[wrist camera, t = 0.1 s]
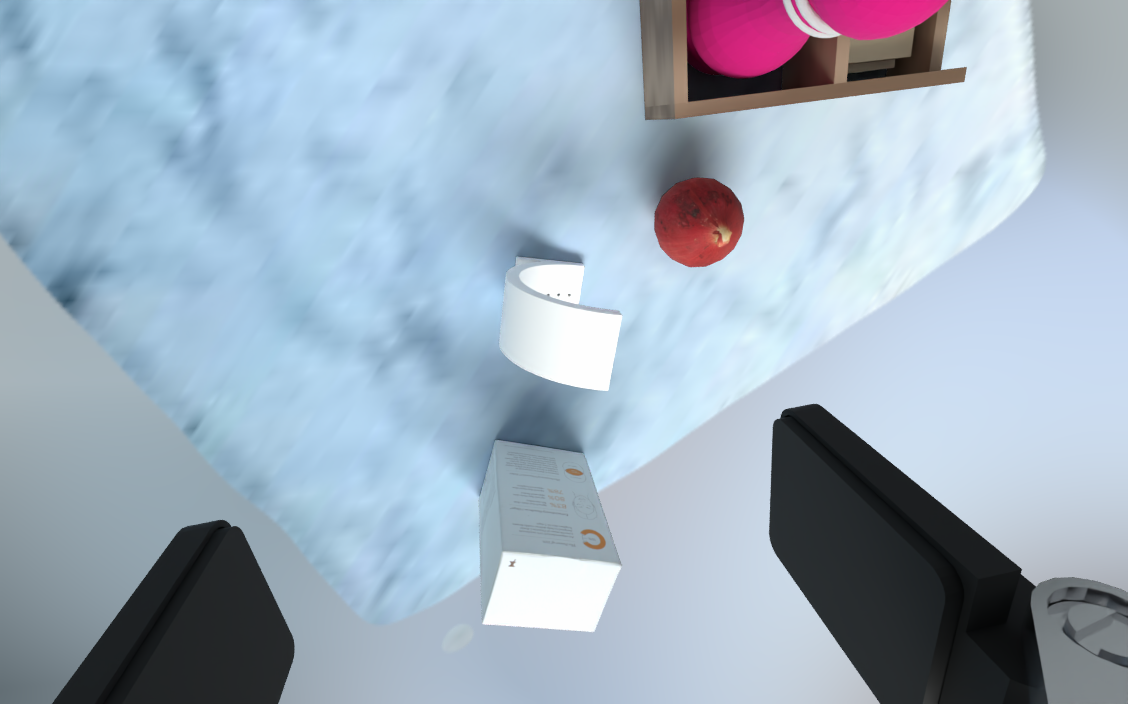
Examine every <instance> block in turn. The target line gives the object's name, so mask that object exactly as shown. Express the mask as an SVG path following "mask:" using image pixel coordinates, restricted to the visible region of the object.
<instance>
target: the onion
mask: <svg viewBox="0 0 1128 704" xmlns="http://www.w3.org/2000/svg"><path fill="white" fill-rule="evenodd" d="M743 223H744V215H743V210H742V205H741V203H740V201H739V200H738V198H737V197H736V196H735V194H734V193H733V192H732V190H731V189H730V188H728V187H727V186H725V185H723V184H722V183H720V182H718V181H717V180H715V179H710V178H699V177H697V178H691V179H688V180H685V181H682V182H679V183H676V184H675V185H674V186H673V187H672V188H670V189H669V190H668V191H667V192H666V193H665V194H664V195H663V196H662V198H661V200H660V202H659V204H658V206H657V209H656V211H655V222H654V230H655V233H656V236H657V239H658V242H659V245H660V247H661V248H662V250H663V251H664V252H665V253H666V254H667V255H668V256H669V257H670V258H671V259H672V260H675V261H677V262H679V263H681V264H683V265H685V266H688V267H706V266H708V265H711V264H713V263H715V262H717V261H720V260H722V259H723V258H724V257H725V256H727V255H728V254H729V253H730V252H731V251H732V250H733V249H734V248H735V246H736V244H737V242H738V240H739V238H740V237H741V235H742V229H743Z"/></svg>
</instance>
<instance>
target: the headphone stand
mask: <svg viewBox="0 0 1128 704" xmlns="http://www.w3.org/2000/svg"><path fill="white" fill-rule="evenodd" d="M584 268H585V266H584V265H583V263H573V262H564V261H555V260H545V259H536V258H527V257H517V256H516V263H515V266H514V267H512V268H510V269H509V270H508V271H507V272H506V278H505V288H504V297H503V307H502V317H501V327H500V337H499V346H500V349H501V351H502V352H503V354H504V355H505V356H506V357H507V358H508V359H509V360H510V361H512V362H513V363H514V364H516V365H518V366H519V367H521V368H523V369H524V370H526V371H528V372H531V373H533V374H535V375H538V376H540V377H543V378H545V379H549V380H552V381H555V382H559V383H562V384H566V385H571V386H575V387H581V388H586V389H594V390H604V391H608V388H609V383H610V378H611V373H612V367H613V362H614V357H615V351H616V346H617V341H618V336H619V330H620V325H621V320H622V315H621V313H620V312H619V311H617V310H608V309H601V308H594V307H589V306H584V305H579V299H580V293H581V287H582V280H583V274H584Z"/></svg>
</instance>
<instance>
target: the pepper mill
mask: <svg viewBox="0 0 1128 704" xmlns="http://www.w3.org/2000/svg"><path fill="white" fill-rule="evenodd" d="M947 1H948V0H686V27H687V62H688V63H689V64H690V65H691V66H692V67H693V68H695V69H696V70H698V71H700V72H702V73H705V74H709V75H724V76H726V77H731V78H736V79H748V78H753V77H757V76H760V75H763V74H765V73H768V72H771V71H773V70H775V69H777V68H778V67H780V66H781V65H783V64H784V63H786V62H787V61H788V60H789V59H791V58H792V57H793V56H794V55H795V54H796V53H797V52H798V51H799V50H800V49H801V48H802V46H803V45H804V44H805V43H806V41H807V40H808V38H809V36H810V35H811V36H813V37H818V38H832V37H836V36H840V35H844V36H847V37H850V38H853V39H856V40H874V39H882V38H888V37H891V36H894V35H897V34H900V33H903V32H905V31H907V30H909V29H911V28H913V27H915V26H917V25H919V24H921V23H922V22H924V21H925V20H926V19H928V18H929V17H930V16H932V15H933V14H934V13H936V12H937V11H938V10H939V9H940V8H941V7H942V6H943V5H944V4H945V3H946V2H947Z"/></svg>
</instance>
